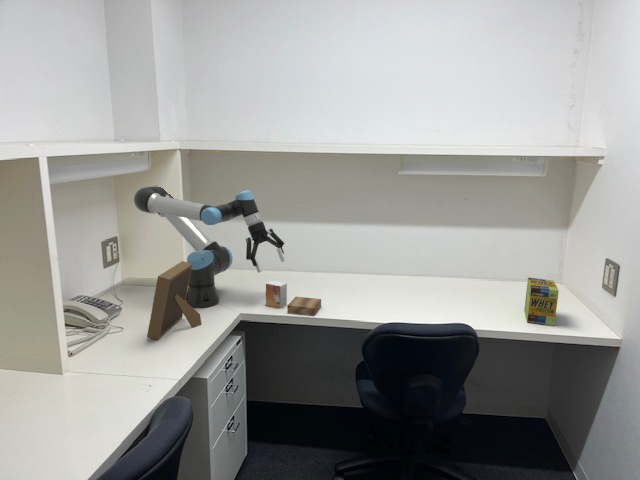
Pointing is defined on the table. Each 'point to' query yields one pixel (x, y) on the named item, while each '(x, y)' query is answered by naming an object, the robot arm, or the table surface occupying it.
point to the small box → (276, 294)
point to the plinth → (304, 306)
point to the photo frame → (172, 301)
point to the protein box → (541, 301)
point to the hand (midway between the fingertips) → (272, 266)
